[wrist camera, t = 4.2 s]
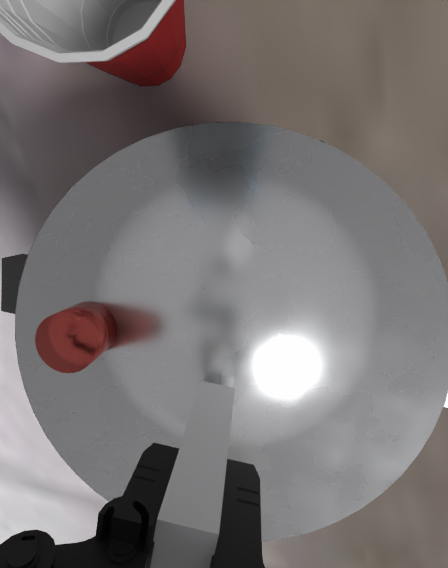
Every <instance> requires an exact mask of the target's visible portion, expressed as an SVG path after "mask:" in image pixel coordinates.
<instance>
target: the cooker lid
mask: <svg viewBox="0 0 448 568" xmlns="http://www.w3.org/2000/svg"><path fill="white" fill-rule="evenodd" d="M15 341H16V349H17V357H18V365H19V369H20V373H21V377H22V381H23V385H24V389H25V391H26V394H27V396H28V399H29V402H30V404H31V407H32V409H33V412H34V414H35V416H36V418H37V420H38V421H39V423H40V425H41V427H42V429H43V431H44V433H45V435H46V436H47V438H48V439H49V440H50V442H51V443H52V445H53V446H54V448H55V449H56V451H57V452H58V453H59V455H60V456H61V457H62V458H63V460H64V461H65V462H66V463H67V464H68V465H69V466H70V468H71V469H72V470H73V471H74V472H75V473H76V474H77V475H78V476H79V477H80V478H81V479H82V480H83V481H84V482H85V483H86V484H88V485H89V486H90V487H91V488H92V489H93V490H94V491H95V492H97V493H98V494H99V495H101V496H102V497H104V498H105V499H106V500H108V501H109V502H110V501H111V500H113V499H114V498H117V497H121V496H123V494H124V492H125V489H126V487H127V485H128V483H129V481H130V479H131V477H132V474H133V472H134V470H135V468H136V467H137V464H138V462H139V459H140V457H141V455H142V453H143V451H145V450H146V449H147V448H148V447H149V446H150V445H152V444H153V443H158V444H162V445H167V446H171V447H175V448H180V446H181V442H182V439H183V436H184V433H185V430H186V427H187V424H188V420H189V417H190V414H191V411H192V408H193V405H194V402H195V398H196V395H197V392H198V389H199V386H200V383H201V380H202V381H206V382H211V383H215V384H219V385H224V386H228V387H233V388H235V392H234V402H233V411H232V420H231V429H230V438H229V447H228V456H227V459H231V460H235V461H240V462H244V463H248V464H253V465H254V466H255V468H256V471H257V473H258V475H259V477H260V495H261V506H260V507H261V538H262V542H267V541H273V540H280V539H287V538H291V537H295V536H298V535H302V534H306V533H309V532H313V531H316V530H318V529H321V528H323V527H326V526H328V525H331V524H333V523H335V522H338V521H340V520H342V519H343V518H345V517H347V516H349V515H351V514H352V513H354V512H356V511H358V510H360V509H361V508H363V507H364V506H365V505H367V504H368V503H370V502H371V501H372V500H374V499H375V498H376V497H378V496H379V495H380V494H382V493H383V492H384V491H385V490H386V489H387V488H388V487H389V486H390V485H392V484H393V483H394V482H395V481H396V480H397V479H398V478H399V477H400V476H401V475H402V474H403V473H404V471H405V470H406V469H407V468H408V467H409V465H410V464H411V463H412V462H413V460H414V459H415V458H416V457H417V455H418V454H419V453H420V451H421V450H422V448H423V446H424V445H425V443H426V441H427V440H428V438H429V436H430V435H431V433H432V431H433V430H434V427H435V425H436V423H437V420H438V418H439V416H440V414H441V411H442V409H443V407H444V404H445V401H446V397H447V393H448V283H447V280H446V276H445V273H444V270H443V267H442V264H441V261H440V259H439V257H438V255H437V253H436V251H435V249H434V247H433V245H432V243H431V241H430V239H429V237H428V235H427V233H426V231H425V230H424V228H423V227H422V226H421V224H420V223H419V221H418V220H417V218H416V217H415V215H414V214H413V213H412V211H411V210H410V208H409V207H408V206H407V205H406V204H405V203H404V201H403V200H402V199H401V198H400V197H399V196H398V195H397V194H396V193H395V192H394V191H393V190H392V189H391V188H390V186H389V185H388V184H387V183H386V182H384V181H383V180H382V179H381V178H379V177H378V176H377V175H376V174H374V173H373V172H372V171H371V170H369V169H368V168H367V167H366V166H364V165H363V164H362V163H360V162H359V161H357V160H355V159H354V158H352V157H350V156H349V155H347V154H345V153H343V152H342V151H340V150H338V149H337V148H335V147H333V146H331V145H329V144H326V143H325V142H323V141H320V140H316V139H314V138H312V137H309V136H307V135H304V134H302V133H298V132H294V131H290V130H286V129H282V128H278V127H274V126H269V125H260V124H251V123H242V122H224V123H222V122H215V123H204V124H198V125H192V126H186V127H180V128H175V129H172V130H169V131H165V132H162V133H159V134H156V135H153V136H150V137H147V138H144V139H142V140H140V141H138V142H136V143H134V144H132V145H130V146H128V147H126V148H124V149H122V150H120V151H117V152H116V153H115V154H113V155H112V156H110V157H109V158H107V159H106V160H104V161H103V162H101V163H100V164H98V165H97V166H95V167H94V168H92V169H91V170H90V171H89V172H88V173H87V174H86V175H85V176H84V177H82V178H81V179H80V180H79V181H78V182H77V183H76V184H75V185H74V186H73V187H71V188H70V190H69V191H68V192H67V193H66V194H65V196H64V197H63V198H62V199H61V200H60V202H59V203H58V204H57V205H56V206H55V208H54V209H53V210H52V212H51V213H50V215H49V217H48V218H47V220H46V221H45V223H44V225H43V226H42V228H41V230H40V231H39V233H38V235H37V237H36V239H35V241H34V244H33V246H32V248H31V250H30V253H29V255H28V257H27V260H26V263H25V267H24V270H23V274H22V277H21V281H20V284H19V290H18V297H17V304H16V311H15Z"/></svg>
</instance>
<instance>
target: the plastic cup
mask: <svg viewBox="0 0 448 568" xmlns="http://www.w3.org/2000/svg"><path fill="white" fill-rule="evenodd" d="M0 33H1V34H2V35H3V36H4V37H5V38H6V39H8V40H9V41H10V42H11V43H12V44H14V45H16V46H19V47H21V48H24V49H26V50H29V51H31V52H33V53H36V54H38V55H41V56H43V57H46V58H48V59H51V60H53V61H56V62H58V63H79V62H86V63H88V64H90V65H92V66H94V67H96V68H98V69H101V70H103V71H105V72H107V73H109V74H112V75H114V76H117V77H120V78H122V79H124V80H126V81H129V82H131V83H134V84H137V85H139V86H157V85H160V84H162V83H163V82H165V81H167V80H169V79H171V78H172V76H173V75H174V74H175V72H176V71H177V70H178V68H179V67H180V66H181V62H182V59H183V56H184V52H185V48H186V35H185V16H184V0H0Z"/></svg>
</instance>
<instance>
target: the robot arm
mask: <svg viewBox="0 0 448 568" xmlns="http://www.w3.org/2000/svg"><path fill="white" fill-rule="evenodd" d="M234 392H235V388H233V387H228V386H224V385H219V384H215V383H211V382H206V381H202V380H201V383H200V386H199V389H198V392H197V395H196V398H195V402H194V405H193V408H192V411H191V414H190V417H189V420H188V424H187V427H186V430H185V433H184V436H183V439H182V442H181V446H180V448H175V447H171V446H167V445H162V444H158V443H153V444H152V445H150V446H149V447H148V448H147V449H146V450H145V451H143V453H142V455H141V457H140V459H139V462H138V464H137V467H136V468H135V470H134V472H133V474H132V477H131V479H130V481H129V483H128V485H127V487H126V489H125V492H124V494H123V496H121V497H117V498H114V499H113V500H111V501H110V502H108V503H107V504H105V506H104V507H103V508H102V510H101V511H100V512H99V515H98V523H97V530H96V536H95V537H93V538H91V539H88V540H86V541H83V542H78V543H71V544H61V545H55V543H54V539H53V538H52V537H51V536H50V535H49V534H48V533H46V532H43V531H39V530H29V531H23V532H21V533H18V534H16V535H14V536H11V537H10V538H9V539H7V540H6V541H5V542H3V543H2V544H1V545H0V568H265V567H264V564H263V559H262V538H261V507H260V506H261V495H260V477H259V475H258V473H257V471H256V468H255V466H254V465H253V464H248V463H244V462H240V461H235V460H231V459H227V456H228V447H229V438H230V429H231V420H232V411H233V402H234Z"/></svg>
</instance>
